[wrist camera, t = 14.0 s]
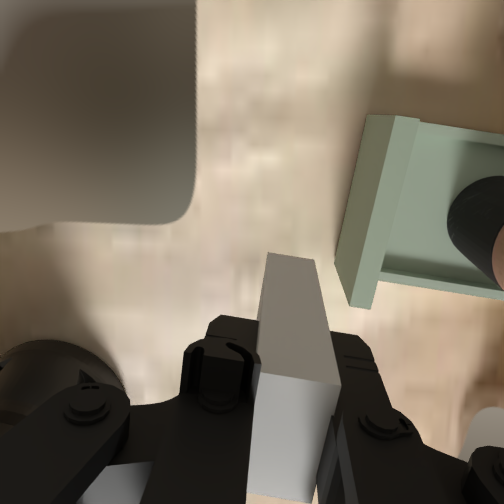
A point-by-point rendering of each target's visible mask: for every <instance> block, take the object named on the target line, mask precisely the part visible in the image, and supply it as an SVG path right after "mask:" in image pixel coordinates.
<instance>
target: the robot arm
mask: <svg viewBox="0 0 504 504" xmlns="http://www.w3.org/2000/svg"><path fill="white" fill-rule="evenodd" d="M374 361H375V360H374V357H373V354H372V352H371V349H370V347H369V346H368V345H367V344H366V343H365V342H364V341H363V340H362V339H361V338H360V337H359V336H358V335H352V334H346V333H340V332H333V331H330V330H329V326H328V321H327V317H326V312H325V307H324V303H323V298H322V293H321V289H320V284H319V279H318V275H317V270H316V266H315V261H314V260H313V259H306V258H300V257H294V256H288V255H281V254H275V253H269V252H268V255H267V261H266V266H265V272H264V278H263V284H262V290H261V296H260V302H259V308H258V314H257V320H251V319H245V318H239V317H233V316H226V315H220V316H218V317H217V318H216V319H214V320H213V321H211V322H210V323H209V326H208V329H207V332H206V336H205V338H204V339H200V340H198V341H196V342H194V343H192V344H190V345H189V346H188V347H187V349H186V350H185V351H184V355H183V365H182V374H181V383H180V392H179V395H178V396H176V397H174V398H172V399H170V400H167V401H164V402H161V403H155V404H147V405H132V406H130V399H129V398H128V397H127V395H126V394H125V392H124V389H123V387H122V385H121V383H120V381H119V380H118V378H117V377H116V375H115V374H114V373H113V372H112V370H111V369H110V368H109V367H108V366H107V365H106V364H105V363H104V362H103V361H101V360H100V359H99V358H98V357H96V356H95V355H93V354H92V353H90V352H88V351H86V350H84V349H82V348H80V347H78V346H75V345H72V344H69V343H65V342H61V341H54V340H37V341H31V342H27V343H24V344H21V345H19V346H16V347H14V348H13V349H11V350H10V351H8V352H7V353H6V354H5V355H3V356H2V357H1V358H0V504H246V493H252V494H258V495H264V496H270V497H275V498H281V499H287V500H293V501H299V502H305V503H311V504H312V500H313V496H314V492H315V488H316V484H317V493H318V503H319V504H504V448H501V447H493V446H484V447H479V448H477V449H476V450H475V451H474V452H473V453H472V455H471V457H470V459H469V462H468V463H467V462H465V461H462V460H459V459H457V458H455V457H452V456H450V455H447V454H445V453H442V452H440V451H437V450H435V449H433V448H431V447H429V446H427V445H425V444H423V442H422V439H421V437H420V434H419V432H418V431H417V429H416V428H415V426H414V425H413V423H412V422H411V421H410V420H409V419H408V418H407V417H406V416H404V415H403V414H402V413H401V412H399V411H397V410H396V409H394V408H392V406H391V403H390V400H389V398H388V395H387V392H386V389H385V387H384V384H383V381H382V379H381V376H380V374H379V373H378V368H377V365H376V363H374Z"/></svg>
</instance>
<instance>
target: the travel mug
mask: <svg viewBox="0 0 504 504" xmlns="http://www.w3.org/2000/svg"><path fill="white" fill-rule="evenodd" d="M447 230H448V234H449V237H450V239H451V241H452V243H453V245H454V246H455V247H456V248H457V249H458V250H459V251H460V252H461V253H462V254H463V255H464V256H465V257H466V258H467V259H468V260H469V261H471V262H472V263H473V264H474V265H475V266H476V267H477V268H478V269H480V270H481V271H482V272H483V273H484V274H485V275H486V276H487V277H489V278H490V279H491V280H492V281H493V282H494V283H495V284H496V285H498V286H499V287H500V288H501V289H502V290H503V291H504V176H490V177H486V178H482V179H480V180H477V181H475V182H473V183H471V184H470V185H468V186H467V187H466V188H465V189H463V190H462V191H461V192H460V193H459V194H458V196H457V197H456V198H455V200H454V201H453V203H452V205H451V207H450V209H449V212H448V216H447Z"/></svg>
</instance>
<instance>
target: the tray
mask: <svg viewBox="0 0 504 504" xmlns="http://www.w3.org/2000/svg"><path fill="white" fill-rule="evenodd" d="M490 176H504V135H503V134H496V133H490V132H483V131H477V130H471V129H464V128H458V127H451V126H445V125H438V124H432V123H425V122H420V119H417V118H411V117H404V116H398V115H368V114H367V117H366V122H365V126H364V131H363V135H362V140H361V144H360V149H359V153H358V158H357V162H356V167H355V171H354V176H353V180H352V185H351V189H350V194H349V198H348V203H347V207H346V212H345V217H344V221H343V226H342V230H341V235H340V239H339V244H338V248H337V253H336V257H335V262H334V264H335V267H336V270H337V273H338V276H339V279H340V281H341V284H342V287H343V290H344V293H345V295H346V298H347V301H348V304H349V306H351V307H357V308H363V309H371V305H372V302H373V298H374V294H375V290H376V286H377V282H378V281H384V282H391V283H397V284H403V285H410V286H416V287H422V288H428V289H435V290H441V291H447V292H453V293H460V294H466V295H472V296H478V297H485V298H491V299H497V300H503V301H504V291H503V290H502V289H501V288H500V287H499V286H498V285H496V284H495V283H494V282H493V281H492V280H491V279H490V278H489V277H487V276H486V275H485V274H484V273H483V272H482V271H481V270H480V269H478V268H477V267H476V266H475V265H474V264H473V263H472V262H471V261H469V260H468V259H467V258H466V257H465V256H464V255H463V254H462V253H461V252H460V251H459V250H458V249H457V248H456V247H455V246H454V245H453V243H452V241H451V239H450V237H449V234H448V230H447V216H448V212H449V209H450V207H451V205H452V203H453V201H454V200H455V198H456V197H457V196H458V194H459V193H460V192H461V191H462V190H463V189H465V188H466V187H467V186H468V185H470V184H471V183H473V182H475V181H477V180H480V179H482V178H486V177H490Z"/></svg>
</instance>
